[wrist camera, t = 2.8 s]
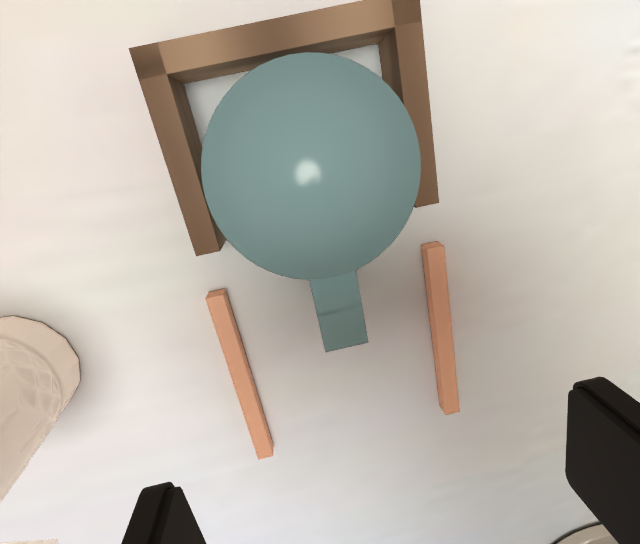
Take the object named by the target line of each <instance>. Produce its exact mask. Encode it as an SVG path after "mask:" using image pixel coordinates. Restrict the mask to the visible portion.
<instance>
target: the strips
mask: <svg viewBox="0 0 640 544" xmlns="http://www.w3.org/2000/svg"><path fill="white" fill-rule="evenodd" d="M421 248H422V256H423V265H424V274H425V282H426V291H427V300H428V308H429V317H430V325H431V334H432V343H433V351H434V360H435V369H436V377H437V386H438V395H439V403H440V407H441V408H442V410H443V412H444V413H445V415H448V414H452V413H457V412H460V410H459V399H458V389H457V378H456V368H455V357H454V347H453V336H452V326H451V315H450V304H449V294H448V283H447V273H446V262H445V252H444V245H442V244H441V243H439V242H438V241H436V242H431V243H427V244H422V245H421ZM206 302H207V305H208V308H209V311H210V314H211V317H212V320H213V323H214V326H215V329H216V332H217V335H218V338H219V341H220V344H221V347H222V350H223V353H224V356H225V359H226V362H227V365H228V368H229V371H230V375H231V378H232V381H233V384H234V387H235V390H236V393H237V396H238V399H239V402H240V405H241V408H242V411H243V414H244V417H245V420H246V423H247V426H248V429H249V432H250V435H251V438H252V441H253V444H254V447H255V450H256V453H257V457H258V459H262V458H266V457H270V456H273V442H272V439H271V436H270V433H269V429H268V426H267V423H266V420H265V416H264V413H263V410H262V407H261V403H260V400H259V397H258V394H257V390H256V387H255V384H254V381H253V377H252V374H251V371H250V368H249V364H248V361H247V358H246V355H245V351H244V348H243V345H242V342H241V338H240V335H239V332H238V329H237V325H236V322H235V319H234V316H233V312H232V309H231V306H230V303H229V299H228V296H227V293H226V290H225V289H221V290H216V291H212V292H208V295H207V297H206Z"/></svg>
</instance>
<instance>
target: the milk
mask: <svg viewBox="0 0 640 544" xmlns="http://www.w3.org/2000/svg"><path fill="white" fill-rule="evenodd" d="M0 544H58V541H57V539H52V540H37V541H21V542H6V543H0Z"/></svg>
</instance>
